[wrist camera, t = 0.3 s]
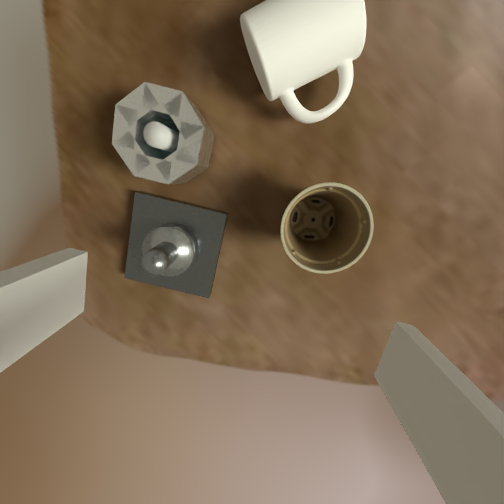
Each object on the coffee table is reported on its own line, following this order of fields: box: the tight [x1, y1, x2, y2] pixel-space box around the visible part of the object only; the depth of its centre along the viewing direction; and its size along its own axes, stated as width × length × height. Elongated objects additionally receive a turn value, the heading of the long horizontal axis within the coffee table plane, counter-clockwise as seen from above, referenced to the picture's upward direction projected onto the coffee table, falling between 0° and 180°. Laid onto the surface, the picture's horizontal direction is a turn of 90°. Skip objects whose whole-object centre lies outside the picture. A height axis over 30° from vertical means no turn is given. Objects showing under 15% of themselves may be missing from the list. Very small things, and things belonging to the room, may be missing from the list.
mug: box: [240, 0, 366, 123], centre depth 28 cm, size 12×10×8 cm
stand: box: [143, 121, 180, 158], centre depth 31 cm, size 7×7×8 cm
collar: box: [112, 82, 214, 184], centre depth 30 cm, size 9×9×6 cm
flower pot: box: [280, 183, 374, 273], centre depth 32 cm, size 9×9×9 cm
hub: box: [125, 192, 228, 298], centre depth 33 cm, size 12×12×9 cm
